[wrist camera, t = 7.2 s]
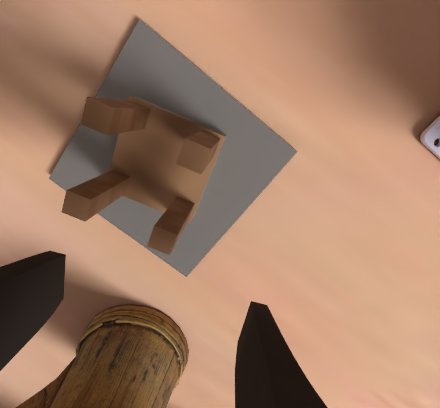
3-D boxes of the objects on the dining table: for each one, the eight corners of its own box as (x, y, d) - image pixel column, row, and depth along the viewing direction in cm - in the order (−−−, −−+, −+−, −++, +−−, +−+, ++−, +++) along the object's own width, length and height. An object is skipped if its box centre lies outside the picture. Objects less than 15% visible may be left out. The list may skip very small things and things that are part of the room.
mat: (296, 150, 18) (297, 151, 18) (187, 273, 22) (186, 276, 21) (142, 21, 16) (139, 18, 16) (53, 176, 20) (48, 178, 20)
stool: (226, 135, 18) (217, 146, 12) (193, 216, 20) (172, 260, 14) (136, 97, 17) (83, 90, 12) (112, 183, 19) (56, 213, 14)
